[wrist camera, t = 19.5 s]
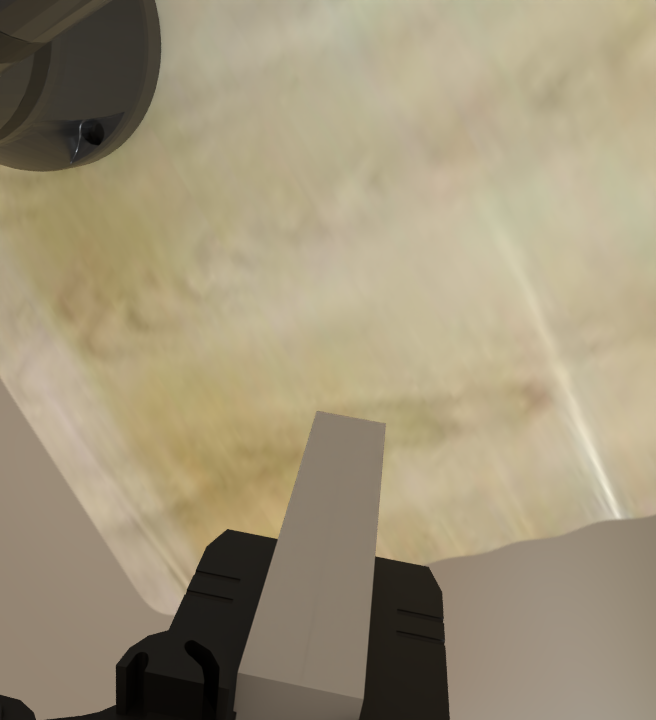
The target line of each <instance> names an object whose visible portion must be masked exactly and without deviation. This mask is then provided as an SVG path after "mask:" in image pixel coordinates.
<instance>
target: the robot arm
mask: <svg viewBox="0 0 656 720" xmlns="http://www.w3.org/2000/svg"><path fill="white" fill-rule="evenodd" d="M160 59H161V35H160V25H159V18H158V13H157V8H156V3H155V0H0V164H1V165H4V166H7V167H11V168H15V169H20V170H28V171H42V172H44V171H57V170H63V169H68V168H73V167H78V166H82V165H86V164H89V163H92V162H95V161H97V160H99V159H101V158H103V157H105V156H107V155H109V154H110V153H112V152H113V151H115V150H116V149H117V148H118V147H120V146H121V145H122V144H123V143H124V142H125V141H126V140H127V139H128V138H129V137H130V136H131V135H132V134H133V132H134V131H135V130H136V129H137V127H138V126H139V124H140V123H141V121H142V120H143V118H144V116H145V114H146V112H147V110H148V108H149V106H150V103H151V101H152V98H153V95H154V92H155V89H156V85H157V80H158V75H159V69H160ZM385 427H386V423H380V422H375V421H369V420H364V419H358V418H353V417H348V416H342V415H337V414H331V413H326V412H321V411H317V412H316V415H315V419H314V422H313V425H312V429H311V432H310V435H309V438H308V442H307V445H306V448H305V452H304V455H303V458H302V462H301V465H300V468H299V471H298V475H297V478H296V481H295V485H294V488H293V491H292V495H291V498H290V501H289V504H288V508H287V511H286V514H285V518H284V521H283V524H282V528H281V531H280V534H279V538H278V539H274V538H269V537H264V536H259V535H254V534H249V533H244V532H239V531H234V530H229V529H227V530H226V531H224V532H223V533H222V534H221V535H220V536H219V537H217V538H216V539H215V540H214V541H213V542H212V543H210V544H209V545H208V546H207V547H206V549H205V551H204V554H203V556H202V558H201V560H200V562H199V564H198V567H197V569H196V573H195V575H193V578H192V580H191V582H190V584H189V586H188V589H187V592H186V595H184V597H183V600H182V602H181V604H180V606H179V608H178V611H177V613H176V615H175V617H174V619H173V622H172V624H171V626H170V628H169V630H168V631H164V632H160V633H157V634H153V635H149V636H147V637H146V638H144V639H143V640H141V641H140V642H138V643H136V644H135V645H133V646H132V647H130V648H129V649H128V651H127V652H126V653H125V654H124V656H123V657H122V658H121V660H120V661H119V662H118V663H117V665H116V705H114V706H112V707H110V708H107V709H105V710H103V711H100V712H97V713H92V714H88V715H83V716H75V717H66V718H57V719H48V720H450V716H449V700H448V684H447V666H446V650H445V646H444V643H445V635H444V634H445V633H444V623H443V619H444V617H443V600H442V591H441V589H440V587H439V586H438V584H437V582H436V580H435V578H434V576H433V574H432V572H431V571H430V569H429V567H426V566H421V565H416V564H411V563H406V562H401V561H396V560H391V559H385V558H380V557H375V551H376V539H377V526H378V514H379V502H380V489H381V477H382V464H383V452H384V440H385ZM0 720H36V718H35V715H34V712H33V711H32V710H30V709H29V708H28V707H27V706H26V705H25V704H24V703H23V702H22V701H21V700H18V699H14V698H10V697H7V696H3V695H0Z"/></svg>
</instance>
